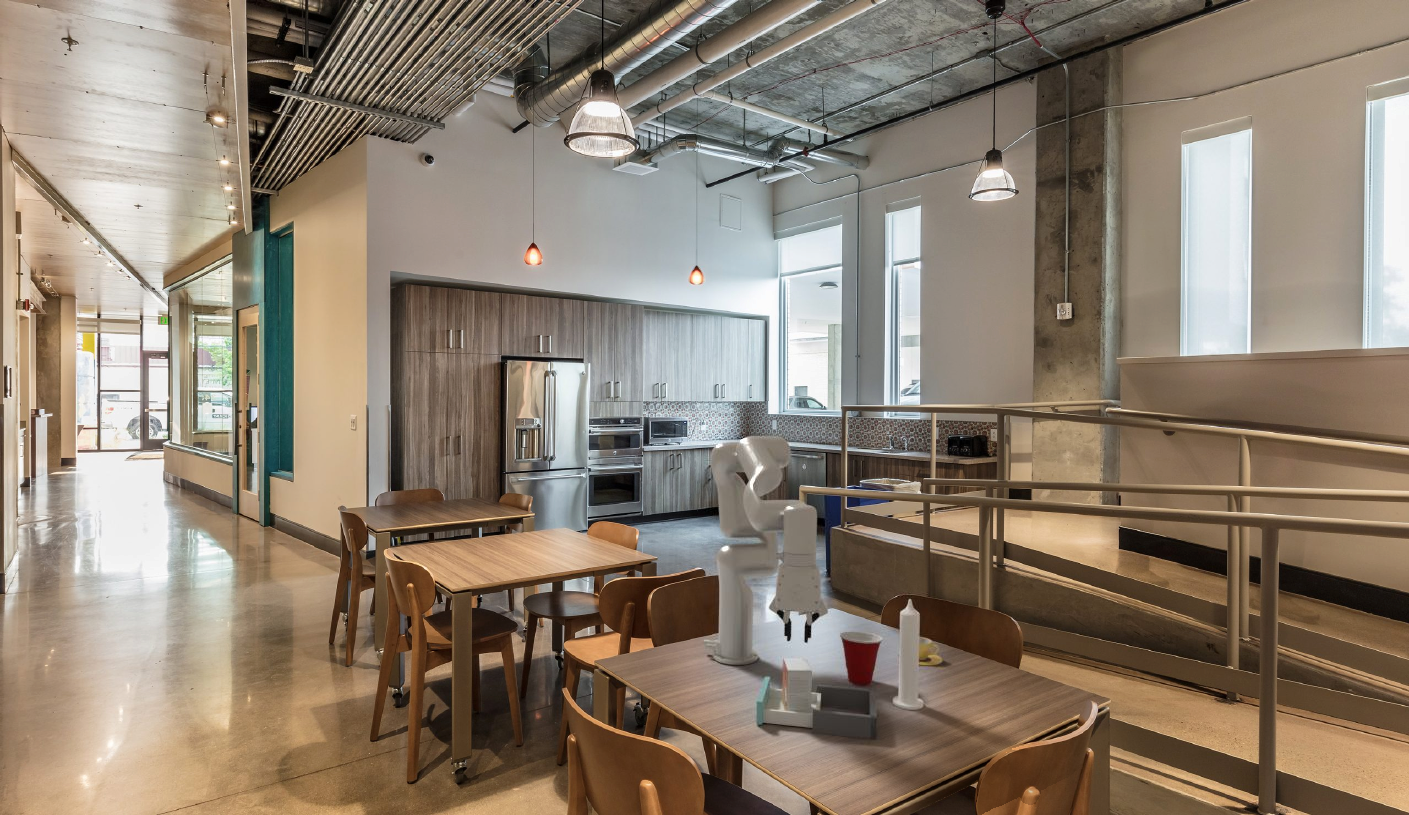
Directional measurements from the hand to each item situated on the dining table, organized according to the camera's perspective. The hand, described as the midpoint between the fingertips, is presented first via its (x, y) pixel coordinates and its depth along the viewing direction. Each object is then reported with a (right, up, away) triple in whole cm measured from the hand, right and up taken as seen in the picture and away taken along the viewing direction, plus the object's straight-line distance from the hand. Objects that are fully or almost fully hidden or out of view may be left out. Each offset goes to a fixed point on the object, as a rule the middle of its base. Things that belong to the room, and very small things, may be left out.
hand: (797, 639), depth 165 cm
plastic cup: (+19, -18, +22) cm, 34 cm away
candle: (+27, -18, +8) cm, 34 cm away
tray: (-2, -17, 0) cm, 17 cm away
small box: (0, -16, 0) cm, 16 cm away
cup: (+40, -19, +40) cm, 59 cm away
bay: (+10, -17, -2) cm, 20 cm away
